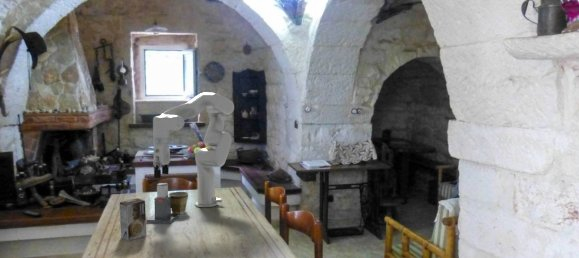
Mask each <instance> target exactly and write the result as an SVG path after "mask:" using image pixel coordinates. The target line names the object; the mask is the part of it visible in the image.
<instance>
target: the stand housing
mask: <svg viewBox="0 0 579 258" xmlns="http://www.w3.org/2000/svg"><path fill="white" fill-rule="evenodd" d="M179 217H180V214H174V213H172V210H171V196H169V195H168V197H167V198H157V196H156V197H154V213H153V214H152V215H151V216H149V217H148V218H146V224H148V223H149V224H167V225H171V224H172V223H173V222H174V221H175V220H177V219H178V218H179Z"/></svg>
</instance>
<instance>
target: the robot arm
mask: <svg viewBox="0 0 579 258" xmlns="http://www.w3.org/2000/svg"><path fill="white" fill-rule="evenodd" d="M205 110H206V111H207V114H208V118H209V124H208V127H207V130H206V132H205V135H204V139H203V143H204V145H205V146H206V147H207V148H205V147H204V148H199V149H198V150H197V151H196V153H195V157H194V159H195V165H196V170H197V174H196V175H197V200H196V201H195V203H194V206H195V207H199V208H211V207H213V208H214V207H216V206H218V205H219V203H223V198H221V197H220V198H218V197H217V195H216V174H215V173H216V172H215V169H214V168H221V167H222V166H224V165H225V163H226V160H227V158H228V155H229V152H230V149H231V146H232V142H233V141H232V136H231V134H230V133H229V132H227V131H224V128H225V121H224V117H223V116H229V115H231V114H232V113H233V112H234V110H235V104H234V102H233V101H232V100H231V99H229V98H227V97H225V96H223V95H221V94H219V93H216V92H202V93H199V94H197V95H195V97H193V98H191V99H190V100H189V101H187V102H185V103H182V104H180V105H177V106H174V107H171V108H169V109H168V110H165V111H164V112H163V113H161V114H160V115H157V116H154V117H153V119H152V132H153V133H152V136H153V137H152V142H153V143H152V144H153V146H154V147H153V160H152V166H153V178H154V179H161V178H162V175H169V174H170V173H169V171H170V170H169V166H170V163H171V152H170V131H180V130H182V129H183V128H184V127H185V120H186V119H187V120H188V119H192V118H195V117H196V116H198V115H200V114H201V113H202V112H204V111H205Z"/></svg>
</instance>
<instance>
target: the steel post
mask: <svg viewBox="0 0 579 258" xmlns="http://www.w3.org/2000/svg"><path fill="white" fill-rule="evenodd" d="M168 196H169V184H168V182H159V183H157V184H156V197H157V198H167V197H168Z"/></svg>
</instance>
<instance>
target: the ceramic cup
mask: <svg viewBox="0 0 579 258" xmlns="http://www.w3.org/2000/svg"><path fill="white" fill-rule="evenodd" d="M168 196H171V213H174V214H179V215H183V214H185V213H186V211H187V205H188V204H187V203H188V200H189V199H188V198H189V192H187V191H173V192H170V193H168Z"/></svg>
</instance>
